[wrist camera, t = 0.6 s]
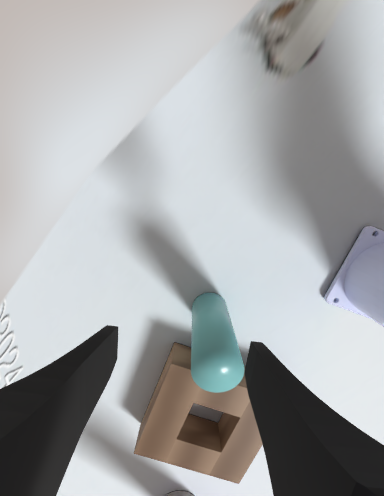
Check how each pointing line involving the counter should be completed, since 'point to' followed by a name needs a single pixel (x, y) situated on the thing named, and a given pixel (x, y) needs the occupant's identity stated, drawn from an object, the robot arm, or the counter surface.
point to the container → (179, 493)
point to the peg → (214, 346)
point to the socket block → (198, 424)
